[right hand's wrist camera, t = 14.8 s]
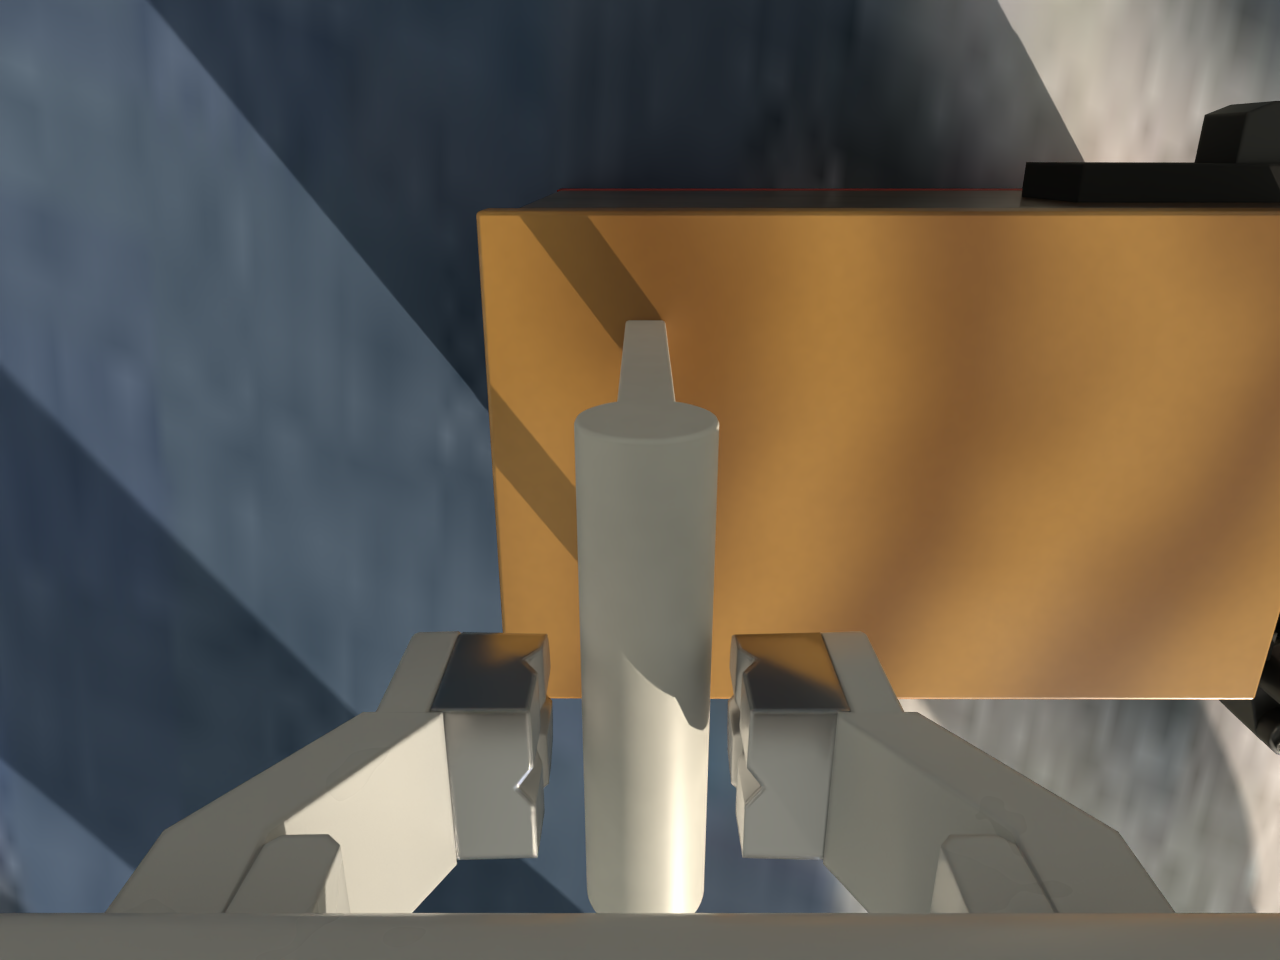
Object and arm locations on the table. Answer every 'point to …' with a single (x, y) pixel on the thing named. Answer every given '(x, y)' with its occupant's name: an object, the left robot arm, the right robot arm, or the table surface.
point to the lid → (873, 467)
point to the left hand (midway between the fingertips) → (1012, 420)
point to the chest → (830, 199)
